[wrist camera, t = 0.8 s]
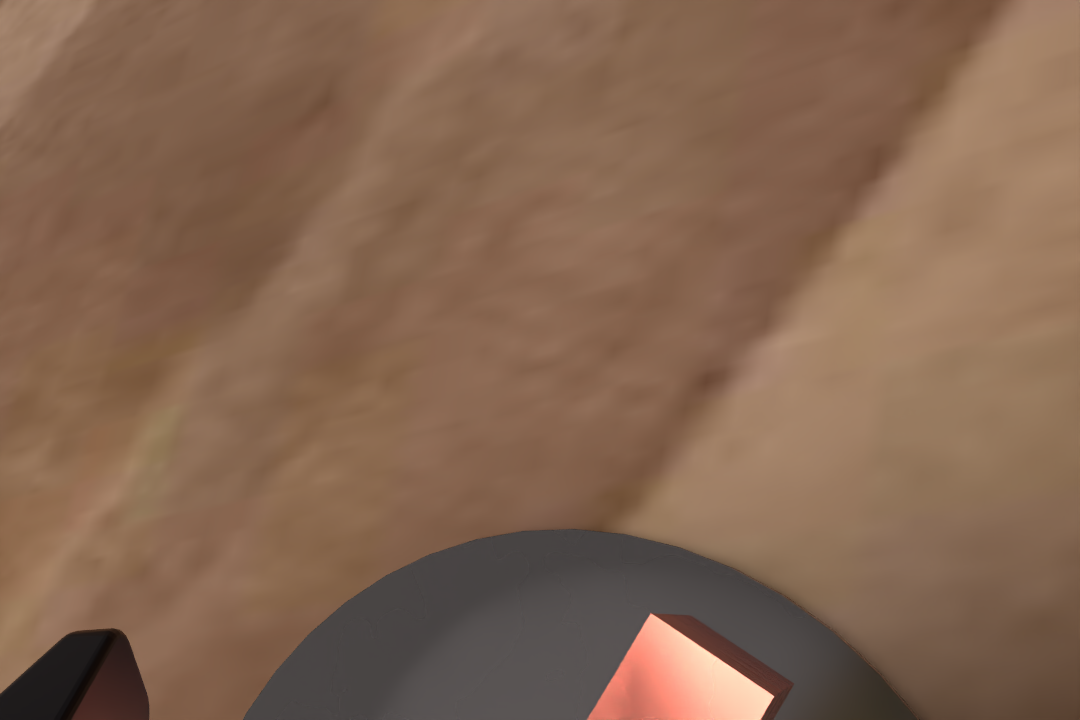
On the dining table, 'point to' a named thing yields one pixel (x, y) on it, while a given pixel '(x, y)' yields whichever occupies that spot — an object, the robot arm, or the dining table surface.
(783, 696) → the colourful block cluster
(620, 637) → the cap plate
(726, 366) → the dining table surface
